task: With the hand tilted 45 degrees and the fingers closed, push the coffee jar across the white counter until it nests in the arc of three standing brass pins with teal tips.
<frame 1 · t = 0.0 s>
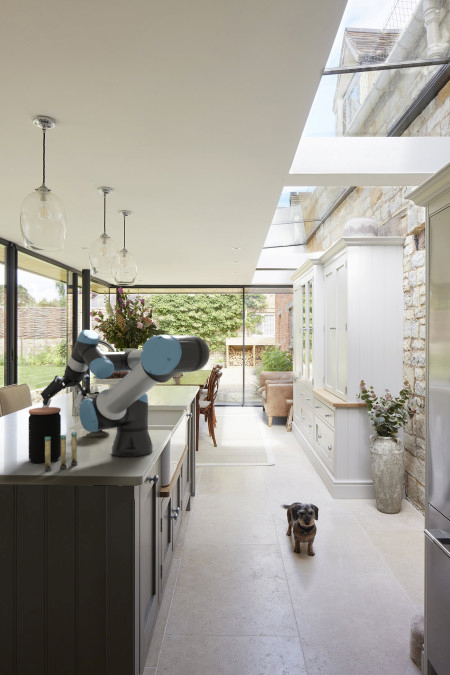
hand: (60, 408, 174), 15 cm above the countertop, tool tilted 35°, fingers open, 13 cm apart
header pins: (54, 464, 149), on the countertop
coffee jar: (44, 460, 155), on the countertop
apothecary jar: (97, 435, 194), on the countertop
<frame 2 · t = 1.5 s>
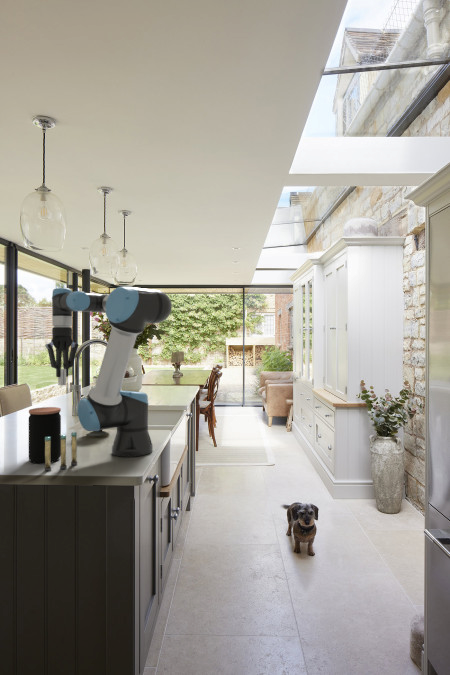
hand: (62, 385, 176), 24 cm above the countertop, tool pointing down, fingers closed
nothing on the countertop moved.
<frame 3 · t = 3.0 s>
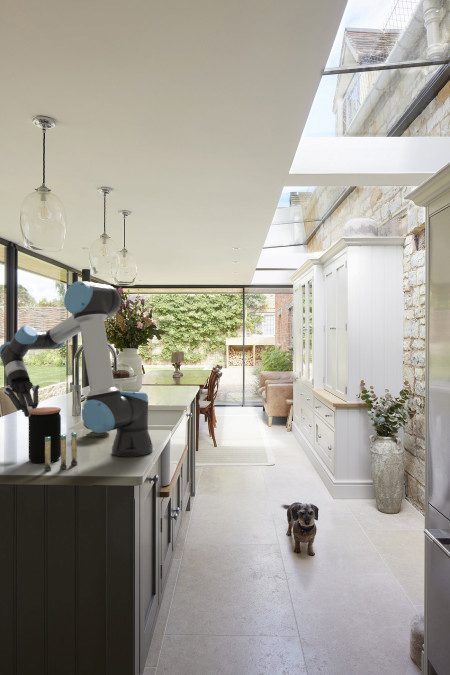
hand: (33, 422, 162), 12 cm above the countertop, tool tilted 45°, fingers closed
nothing on the countertop moved.
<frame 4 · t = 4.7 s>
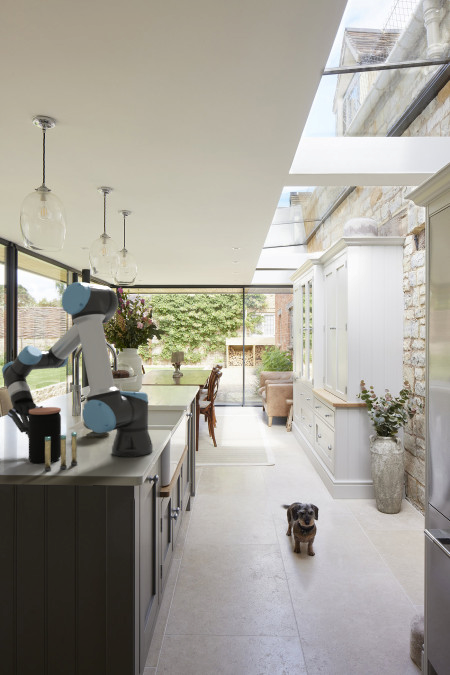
hand: (37, 445, 159), 4 cm above the countertop, tool tilted 45°, fingers closed
coffee jar: (44, 460, 155), on the countertop, touching gripper
everything else where it was.
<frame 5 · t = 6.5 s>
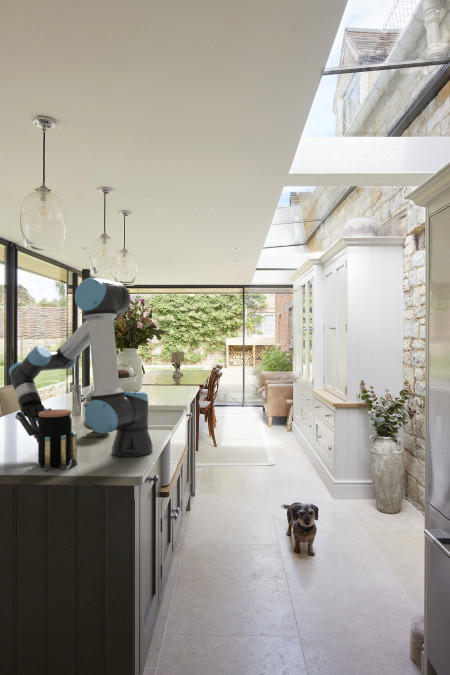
hand: (46, 449, 154), 4 cm above the countertop, tool tilted 45°, fingers closed
coffee jar: (55, 464, 150), on the countertop, touching gripper
everything else where it was.
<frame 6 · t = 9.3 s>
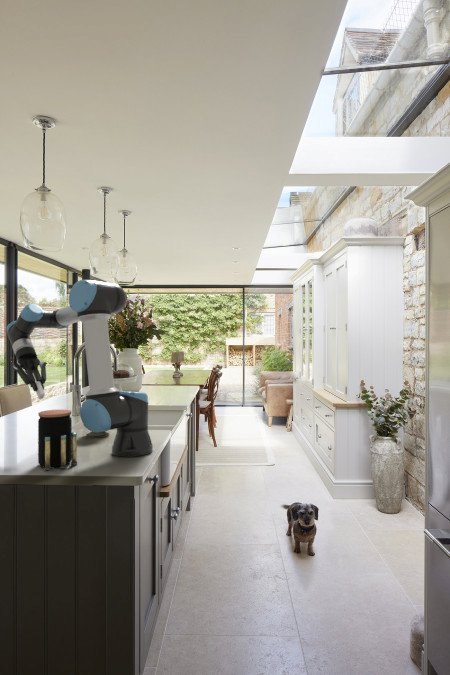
hand: (41, 396, 165), 21 cm above the countertop, tool tilted 45°, fingers closed
coffee jar: (55, 464, 150), on the countertop
everything else where it was.
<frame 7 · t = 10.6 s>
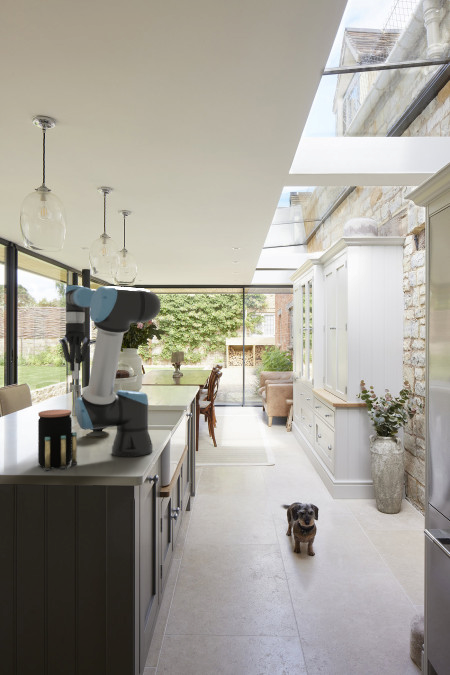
hand: (75, 378, 183), 26 cm above the countertop, tool pointing down, fingers closed
nothing on the countertop moved.
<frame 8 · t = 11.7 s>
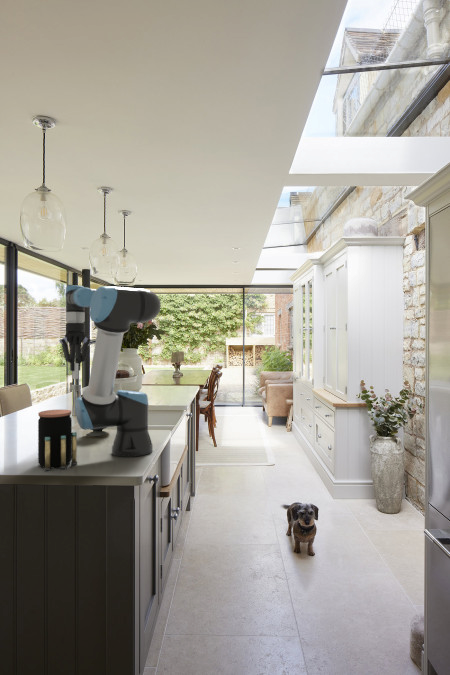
hand: (75, 378, 183), 26 cm above the countertop, tool pointing down, fingers closed
nothing on the countertop moved.
at the end: coffee jar 0.3 cm from the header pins (horizontally); coffee jar tilted 0°; coffee jar moved 7.9 cm from its start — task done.
